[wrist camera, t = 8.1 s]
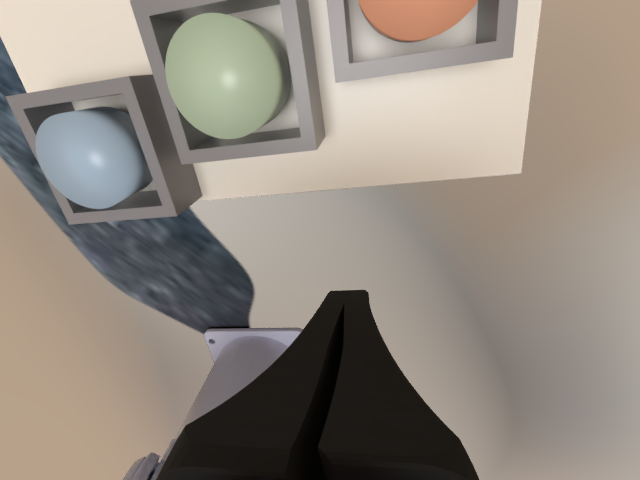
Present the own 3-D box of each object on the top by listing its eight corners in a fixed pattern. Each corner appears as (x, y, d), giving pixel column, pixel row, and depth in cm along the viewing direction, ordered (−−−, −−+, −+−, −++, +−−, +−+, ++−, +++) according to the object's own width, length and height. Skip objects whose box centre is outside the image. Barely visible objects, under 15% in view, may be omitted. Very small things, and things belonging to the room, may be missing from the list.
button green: (297, 122, 16) (285, 132, 14) (209, 133, 17) (185, 144, 15) (279, 10, 14) (262, 1, 12) (180, 29, 15) (148, 24, 13)
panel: (507, 162, 19) (546, 194, 14) (104, 199, 23) (43, 231, 19) (538, -145, 13) (614, -239, 9) (10, -17, 18) (-103, -40, 14)
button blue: (168, 188, 19) (142, 205, 16) (97, 195, 19) (63, 212, 17) (138, 100, 17) (103, 106, 15) (60, 112, 17) (17, 119, 15)
